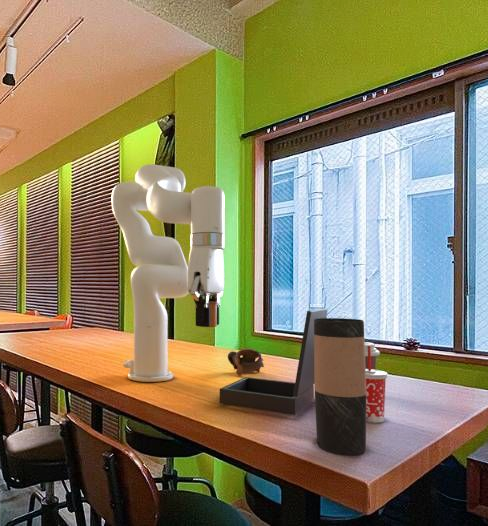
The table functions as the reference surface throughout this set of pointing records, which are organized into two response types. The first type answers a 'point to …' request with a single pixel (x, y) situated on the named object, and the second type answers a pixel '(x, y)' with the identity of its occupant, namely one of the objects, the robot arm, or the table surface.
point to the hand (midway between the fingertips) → (207, 324)
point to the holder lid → (307, 353)
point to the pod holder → (265, 395)
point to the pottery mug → (245, 361)
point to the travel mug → (340, 385)
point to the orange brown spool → (213, 313)
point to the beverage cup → (375, 392)
